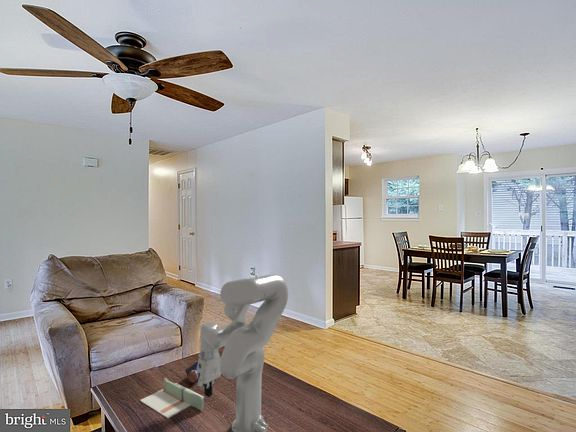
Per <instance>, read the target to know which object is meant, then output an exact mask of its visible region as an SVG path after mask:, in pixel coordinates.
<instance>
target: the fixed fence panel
mask: <svg viewBox="0 0 576 432" xmlns="http://www.w3.org/2000/svg"><path fill="white" fill-rule="evenodd" d="M162 379H163V382H162V383H163V385H162V386H163V391H166V392H168V393H169V394H171V395H173V396H175V397H177V398H179V399H180V400H181V399H182V389H183V388H182V387H180V386H178V385H176V384H175V382H172V381H170V380H169V379H168V378H167V377H164V378H162Z"/></svg>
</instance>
